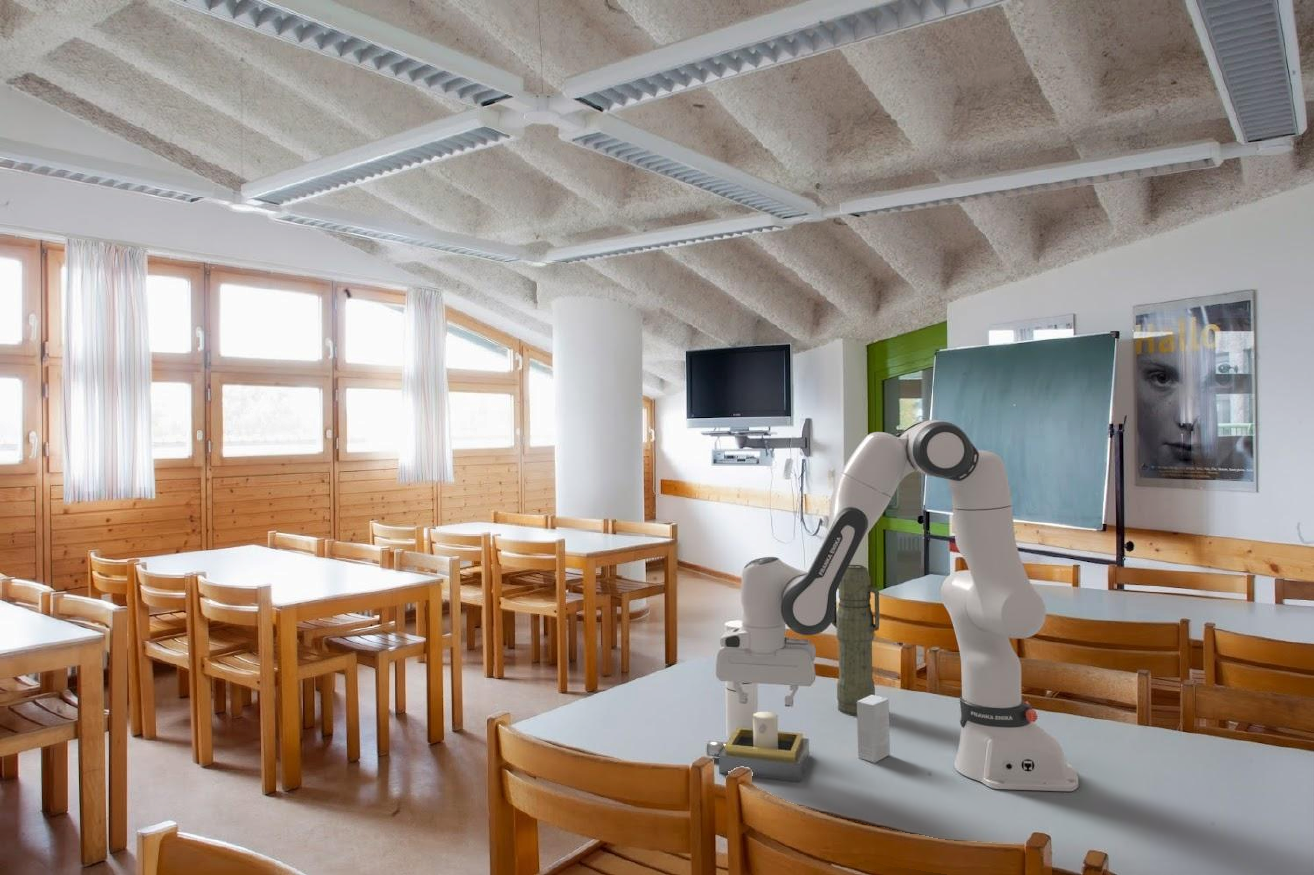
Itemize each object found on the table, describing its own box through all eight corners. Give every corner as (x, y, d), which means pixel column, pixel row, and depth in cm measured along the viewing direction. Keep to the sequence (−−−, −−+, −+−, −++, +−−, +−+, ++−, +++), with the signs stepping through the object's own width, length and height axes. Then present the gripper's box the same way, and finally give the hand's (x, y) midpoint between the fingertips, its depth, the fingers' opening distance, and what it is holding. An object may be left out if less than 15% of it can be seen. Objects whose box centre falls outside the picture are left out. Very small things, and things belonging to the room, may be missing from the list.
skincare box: (872, 749, 180) (871, 693, 180) (890, 755, 177) (889, 698, 177) (856, 758, 176) (856, 700, 176) (874, 763, 173) (874, 705, 173)
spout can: (780, 760, 175) (779, 712, 175) (774, 773, 169) (773, 723, 169) (756, 758, 177) (755, 710, 177) (749, 770, 170) (749, 721, 170)
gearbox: (809, 755, 178) (808, 731, 178) (799, 782, 165) (798, 756, 165) (716, 745, 184) (716, 722, 184) (699, 770, 171) (699, 746, 171)
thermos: (835, 701, 213) (834, 562, 212) (883, 707, 208) (882, 564, 207) (827, 712, 205) (825, 567, 204) (876, 718, 200) (874, 570, 199)
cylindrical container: (756, 741, 186) (755, 628, 186) (724, 739, 188) (722, 627, 187) (759, 730, 193) (757, 620, 193) (728, 728, 195) (726, 619, 194)
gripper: (817, 635, 173) (819, 702, 173) (719, 631, 180) (722, 696, 180) (813, 643, 167) (815, 712, 167) (712, 638, 174) (714, 705, 174)
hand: (766, 704), depth 174 cm, fingers open, 8 cm apart
